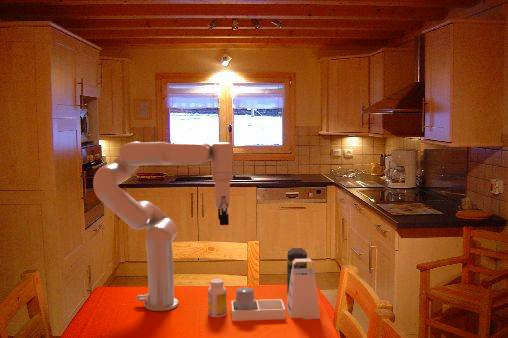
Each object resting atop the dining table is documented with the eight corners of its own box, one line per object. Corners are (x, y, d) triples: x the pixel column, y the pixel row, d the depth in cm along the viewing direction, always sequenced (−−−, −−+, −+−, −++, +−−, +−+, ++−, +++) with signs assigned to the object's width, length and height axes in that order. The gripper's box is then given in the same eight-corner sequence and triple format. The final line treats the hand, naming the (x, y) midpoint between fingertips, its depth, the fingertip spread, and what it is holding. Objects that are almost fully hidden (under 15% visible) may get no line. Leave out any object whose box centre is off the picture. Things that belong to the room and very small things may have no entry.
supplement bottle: (229, 312, 191) (229, 278, 190) (222, 319, 185) (222, 284, 183) (212, 310, 193) (212, 276, 192) (205, 317, 187) (204, 282, 186)
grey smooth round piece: (236, 318, 184) (236, 294, 183) (235, 311, 191) (235, 287, 190) (254, 318, 185) (254, 293, 184) (253, 311, 191) (253, 287, 190)
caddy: (232, 322, 183) (232, 311, 182) (231, 311, 192) (231, 300, 192) (285, 320, 184) (285, 309, 184) (281, 309, 194) (281, 299, 193)
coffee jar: (286, 290, 215) (287, 246, 212) (306, 290, 214) (306, 246, 212) (286, 298, 205) (287, 252, 203) (307, 299, 205) (307, 253, 202)
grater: (286, 308, 195) (286, 256, 193) (313, 307, 196) (314, 255, 194) (290, 319, 185) (291, 264, 183) (319, 318, 186) (320, 264, 184)
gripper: (211, 173, 199) (212, 217, 201) (213, 179, 182) (214, 227, 184) (230, 172, 200) (231, 216, 202) (234, 179, 183) (235, 226, 185)
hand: (223, 222), depth 193 cm, fingers open, 9 cm apart
